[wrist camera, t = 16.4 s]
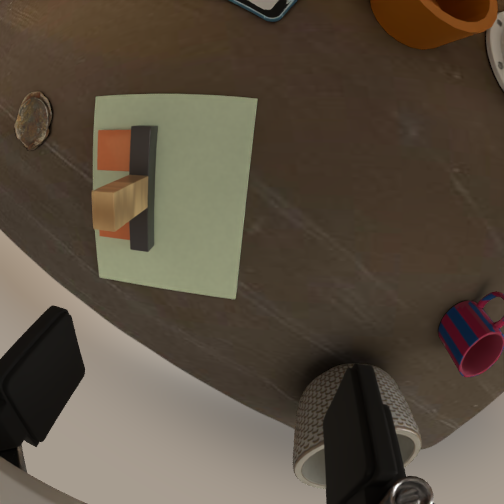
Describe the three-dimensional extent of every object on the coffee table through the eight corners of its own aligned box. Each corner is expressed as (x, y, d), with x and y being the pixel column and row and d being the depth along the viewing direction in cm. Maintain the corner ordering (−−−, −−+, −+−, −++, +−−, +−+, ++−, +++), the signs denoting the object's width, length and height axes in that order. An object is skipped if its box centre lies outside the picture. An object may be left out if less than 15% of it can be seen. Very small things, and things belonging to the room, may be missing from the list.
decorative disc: (63, 112, 26) (57, 112, 26) (38, 157, 29) (33, 159, 28) (33, 83, 25) (27, 83, 24) (10, 127, 27) (5, 128, 26)
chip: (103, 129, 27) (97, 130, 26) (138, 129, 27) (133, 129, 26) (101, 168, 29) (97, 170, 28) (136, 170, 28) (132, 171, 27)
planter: (342, 423, 41) (352, 495, 29) (269, 390, 39) (265, 474, 27) (414, 368, 36) (444, 443, 24) (344, 322, 34) (368, 412, 22)
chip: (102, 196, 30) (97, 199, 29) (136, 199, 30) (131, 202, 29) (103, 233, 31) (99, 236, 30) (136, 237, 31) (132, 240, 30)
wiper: (138, 125, 27) (91, 129, 19) (158, 125, 27) (115, 129, 19) (136, 243, 31) (98, 281, 24) (154, 245, 31) (119, 285, 24)
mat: (97, 96, 26) (95, 96, 26) (257, 99, 26) (257, 98, 25) (100, 275, 34) (99, 277, 33) (235, 297, 33) (235, 299, 33)
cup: (428, 332, 34) (448, 368, 28) (479, 270, 30) (509, 298, 24) (455, 349, 35) (475, 382, 28) (502, 293, 31) (529, 321, 25)
